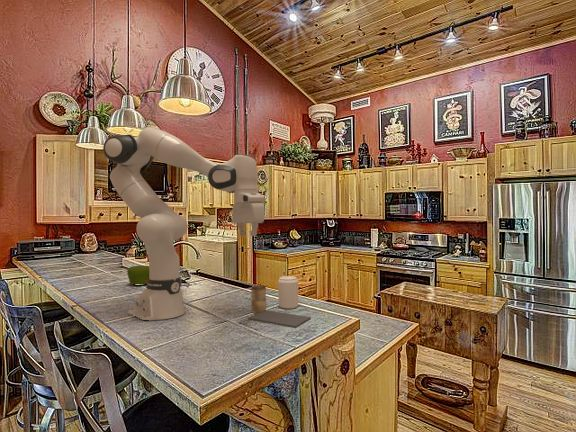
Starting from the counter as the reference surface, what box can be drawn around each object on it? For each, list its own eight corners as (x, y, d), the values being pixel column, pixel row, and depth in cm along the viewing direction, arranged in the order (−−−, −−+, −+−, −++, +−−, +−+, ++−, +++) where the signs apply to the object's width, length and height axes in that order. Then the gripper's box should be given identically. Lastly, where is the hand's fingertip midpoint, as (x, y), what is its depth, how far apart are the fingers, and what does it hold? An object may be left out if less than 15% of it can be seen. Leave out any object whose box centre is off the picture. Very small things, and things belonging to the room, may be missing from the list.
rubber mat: (248, 319, 123) (248, 317, 123) (265, 311, 133) (265, 309, 133) (295, 328, 113) (295, 326, 113) (310, 318, 122) (310, 317, 122)
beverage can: (302, 306, 139) (301, 277, 139) (289, 310, 133) (288, 280, 133) (288, 303, 145) (287, 275, 145) (274, 307, 139) (274, 277, 139)
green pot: (123, 287, 183) (122, 266, 183) (136, 282, 195) (136, 262, 195) (144, 287, 181) (143, 266, 181) (156, 282, 193) (156, 263, 193)
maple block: (251, 312, 132) (251, 286, 132) (257, 309, 135) (257, 284, 135) (260, 313, 130) (259, 287, 130) (266, 311, 133) (265, 285, 133)
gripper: (227, 199, 133) (228, 235, 133) (251, 196, 116) (252, 236, 116) (242, 199, 136) (243, 234, 136) (267, 196, 119) (268, 235, 119)
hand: (247, 235), depth 126 cm, fingers open, 8 cm apart
